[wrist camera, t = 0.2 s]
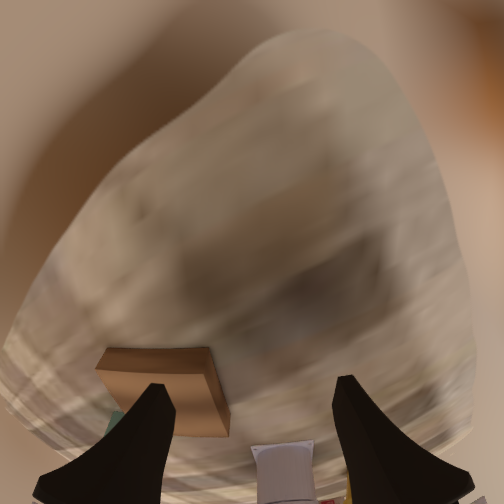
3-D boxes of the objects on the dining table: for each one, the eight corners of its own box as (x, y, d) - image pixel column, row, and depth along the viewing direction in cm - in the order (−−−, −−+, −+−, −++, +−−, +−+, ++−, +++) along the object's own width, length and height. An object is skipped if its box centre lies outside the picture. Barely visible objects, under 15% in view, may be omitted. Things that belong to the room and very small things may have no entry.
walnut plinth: (230, 414, 25) (228, 437, 22) (145, 411, 25) (138, 431, 22) (208, 347, 21) (203, 373, 18) (107, 347, 22) (94, 369, 19)
